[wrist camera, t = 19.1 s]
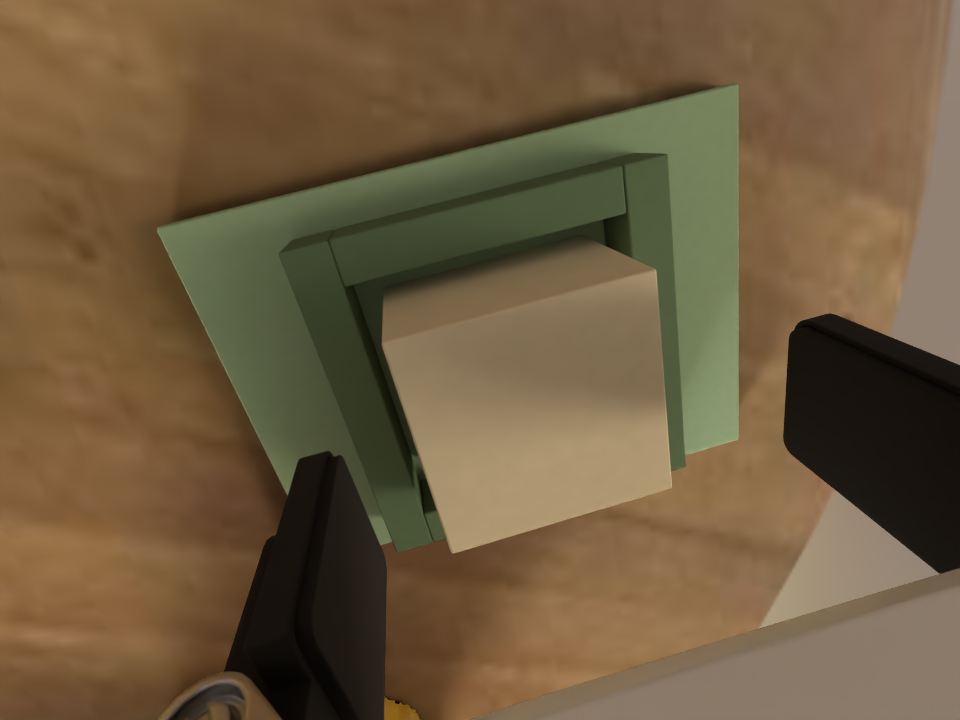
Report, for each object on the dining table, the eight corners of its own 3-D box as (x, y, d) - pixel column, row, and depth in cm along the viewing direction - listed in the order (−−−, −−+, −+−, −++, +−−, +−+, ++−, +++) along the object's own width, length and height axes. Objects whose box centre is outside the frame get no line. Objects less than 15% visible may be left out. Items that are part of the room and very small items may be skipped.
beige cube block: (582, 234, 15) (657, 268, 11) (605, 407, 17) (673, 488, 13) (382, 287, 14) (380, 343, 10) (436, 455, 17) (451, 555, 13)
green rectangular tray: (721, 85, 14) (786, 74, 12) (726, 428, 19) (773, 468, 17) (166, 223, 13) (119, 240, 11) (322, 547, 18) (312, 606, 16)
